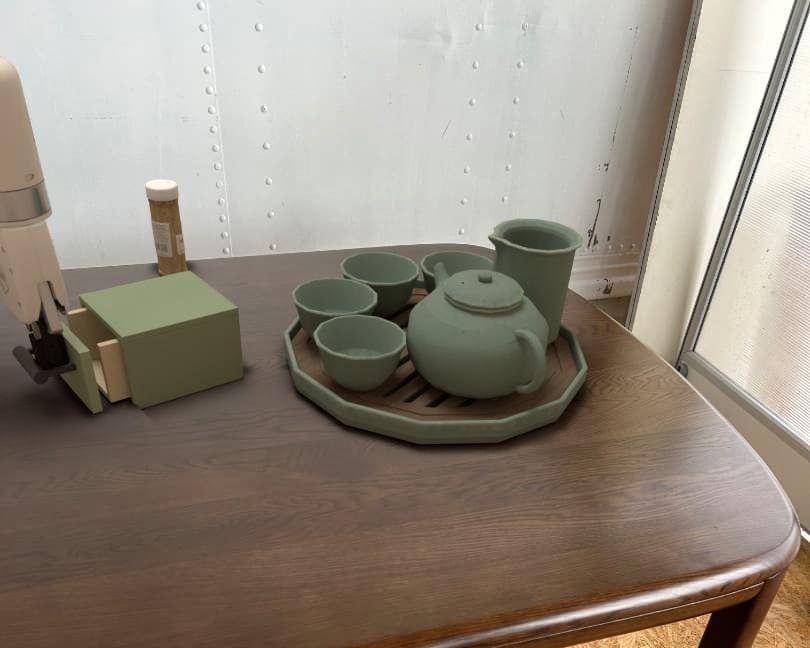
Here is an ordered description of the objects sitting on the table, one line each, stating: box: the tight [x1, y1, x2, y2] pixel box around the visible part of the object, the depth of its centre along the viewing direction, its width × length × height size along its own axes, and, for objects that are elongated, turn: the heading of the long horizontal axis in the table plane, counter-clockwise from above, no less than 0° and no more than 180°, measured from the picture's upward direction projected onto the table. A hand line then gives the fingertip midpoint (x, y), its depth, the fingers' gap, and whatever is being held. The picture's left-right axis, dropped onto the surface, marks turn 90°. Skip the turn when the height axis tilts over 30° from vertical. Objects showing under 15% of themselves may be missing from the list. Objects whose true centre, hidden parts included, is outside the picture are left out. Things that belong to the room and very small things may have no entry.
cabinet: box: [78, 269, 245, 410], centre depth 98 cm, size 15×13×10 cm
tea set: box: [282, 218, 589, 445], centre depth 101 cm, size 40×40×16 cm
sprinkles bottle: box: [145, 178, 189, 277], centre depth 119 cm, size 5×5×14 cm
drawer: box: [12, 307, 131, 414], centre depth 94 cm, size 18×11×8 cm, turn 128°
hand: (53, 364), depth 90 cm, fingers closed
